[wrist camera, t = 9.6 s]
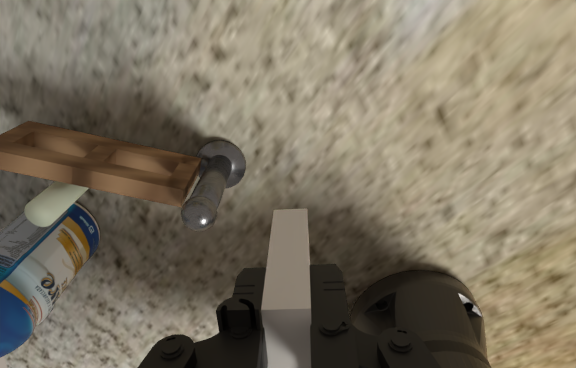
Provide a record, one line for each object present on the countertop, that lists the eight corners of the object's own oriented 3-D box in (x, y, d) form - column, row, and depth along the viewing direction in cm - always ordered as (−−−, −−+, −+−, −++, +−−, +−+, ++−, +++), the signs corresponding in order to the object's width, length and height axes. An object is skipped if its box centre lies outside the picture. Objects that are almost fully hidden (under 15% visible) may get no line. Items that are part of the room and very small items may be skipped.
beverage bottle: (45, 178, 43) (-135, 316, 25) (117, 223, 46) (-3, 379, 28) (13, 232, 46) (-170, 389, 28) (81, 271, 48) (-48, 441, 30)
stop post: (119, 185, 44) (72, 237, 35) (77, 184, 44) (19, 236, 35) (112, 145, 42) (60, 190, 33) (68, 145, 42) (4, 188, 33)
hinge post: (246, 186, 43) (229, 250, 33) (198, 185, 43) (166, 249, 33) (245, 140, 41) (226, 193, 31) (194, 139, 41) (158, 192, 31)
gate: (201, 158, 40) (183, 190, 34) (199, 173, 41) (181, 207, 35) (28, 120, 39) (-24, 146, 33) (29, 136, 40) (-22, 164, 34)
